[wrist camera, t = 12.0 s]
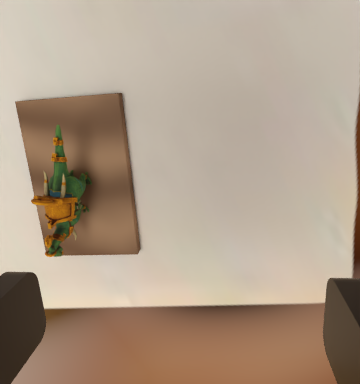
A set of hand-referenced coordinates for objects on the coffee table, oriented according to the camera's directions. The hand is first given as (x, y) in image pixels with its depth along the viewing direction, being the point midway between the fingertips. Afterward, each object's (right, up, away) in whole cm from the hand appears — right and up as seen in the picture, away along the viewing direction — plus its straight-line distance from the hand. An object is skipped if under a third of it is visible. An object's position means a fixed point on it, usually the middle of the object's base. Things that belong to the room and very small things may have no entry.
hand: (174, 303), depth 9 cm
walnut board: (-10, +4, +25) cm, 28 cm away
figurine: (-10, +4, +25) cm, 27 cm away
